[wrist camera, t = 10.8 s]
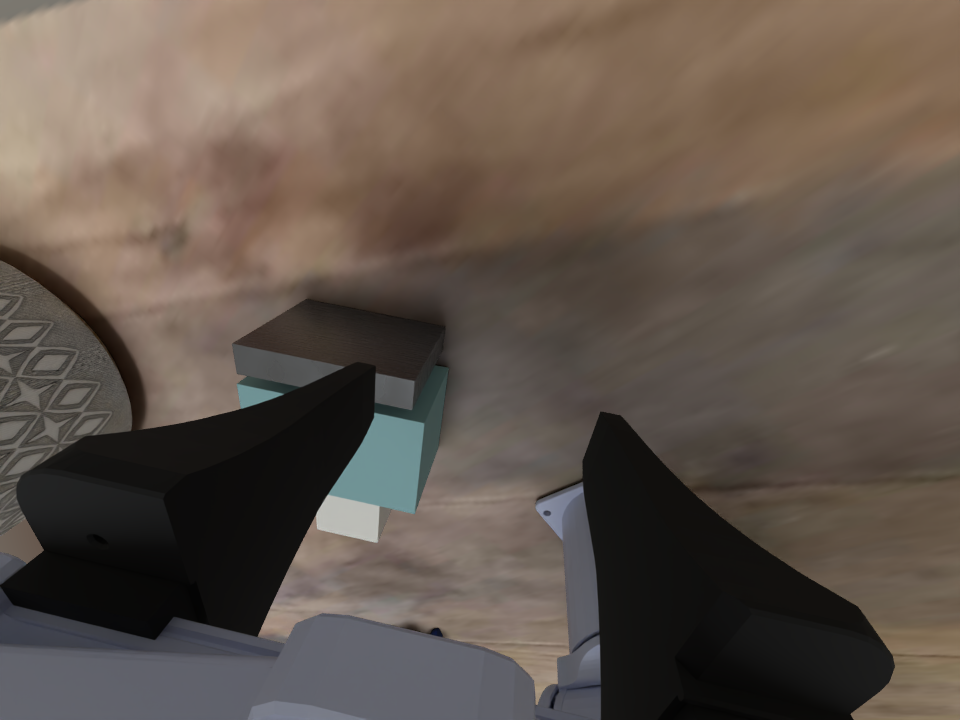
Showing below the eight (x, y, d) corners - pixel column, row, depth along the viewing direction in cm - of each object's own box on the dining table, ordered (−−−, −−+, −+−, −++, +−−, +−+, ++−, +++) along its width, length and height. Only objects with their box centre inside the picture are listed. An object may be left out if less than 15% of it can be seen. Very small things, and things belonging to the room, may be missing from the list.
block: (438, 447, 25) (414, 514, 21) (305, 419, 26) (252, 477, 21) (448, 367, 23) (424, 423, 18) (299, 337, 23) (236, 383, 18)
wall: (442, 350, 22) (412, 410, 17) (307, 323, 23) (236, 373, 17) (445, 326, 22) (414, 381, 16) (306, 299, 22) (231, 343, 17)
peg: (397, 495, 28) (377, 543, 25) (344, 483, 29) (317, 529, 25) (407, 378, 24) (384, 416, 20) (343, 365, 24) (309, 400, 20)
